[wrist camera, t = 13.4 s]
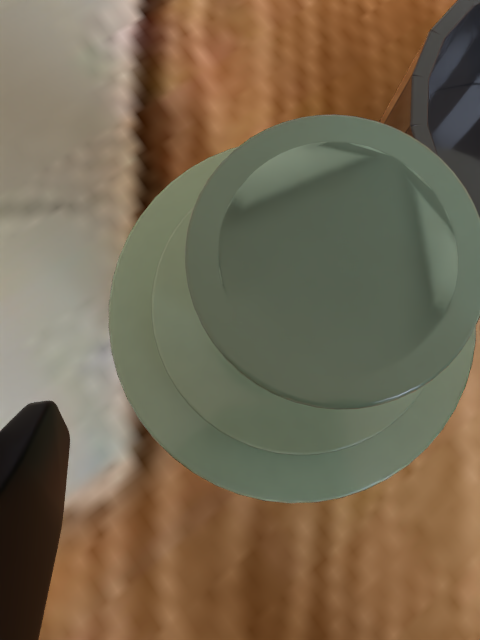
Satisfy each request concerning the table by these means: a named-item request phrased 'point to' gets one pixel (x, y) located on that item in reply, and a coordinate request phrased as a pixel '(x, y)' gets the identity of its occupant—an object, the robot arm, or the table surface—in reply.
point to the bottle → (300, 309)
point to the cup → (446, 94)
